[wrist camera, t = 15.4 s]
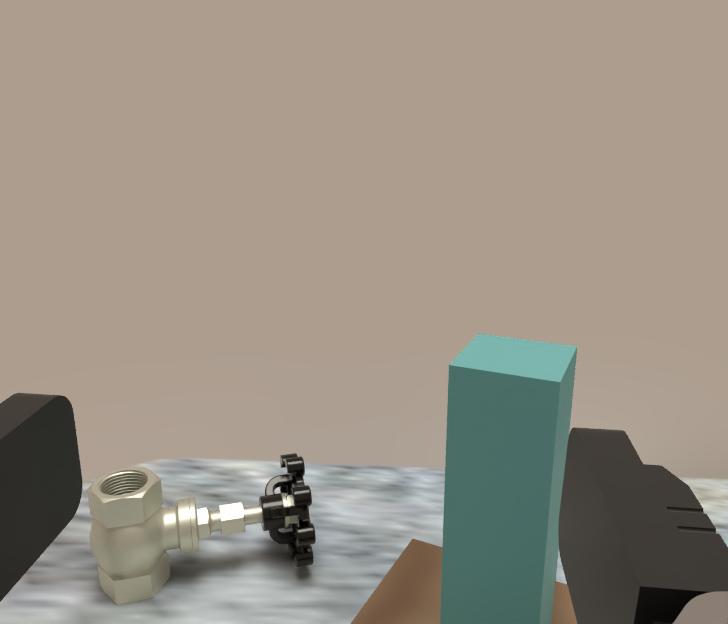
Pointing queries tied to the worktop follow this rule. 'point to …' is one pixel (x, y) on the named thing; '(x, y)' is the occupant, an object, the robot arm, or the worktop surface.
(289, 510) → the valve
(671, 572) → the robot arm
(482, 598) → the plug
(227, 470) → the worktop surface
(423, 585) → the board
